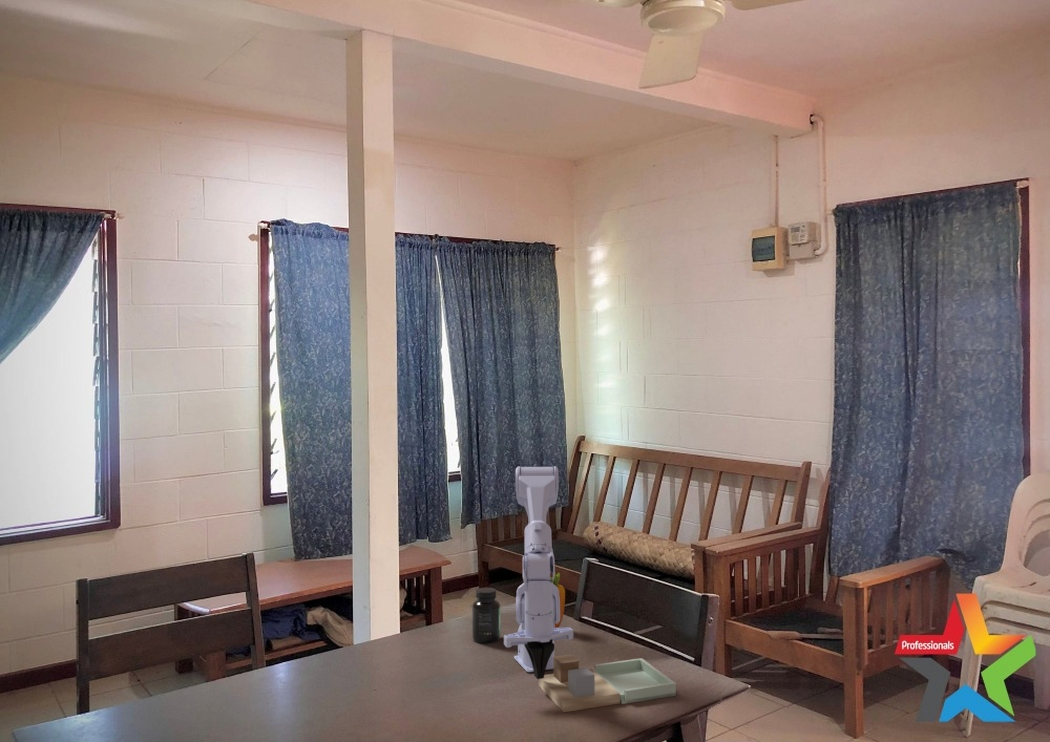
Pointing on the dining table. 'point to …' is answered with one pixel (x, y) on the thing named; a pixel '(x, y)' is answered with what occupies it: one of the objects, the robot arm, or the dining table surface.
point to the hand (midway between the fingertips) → (539, 677)
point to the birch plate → (570, 703)
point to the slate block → (581, 682)
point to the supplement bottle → (486, 617)
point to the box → (636, 680)
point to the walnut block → (564, 667)
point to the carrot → (562, 597)
